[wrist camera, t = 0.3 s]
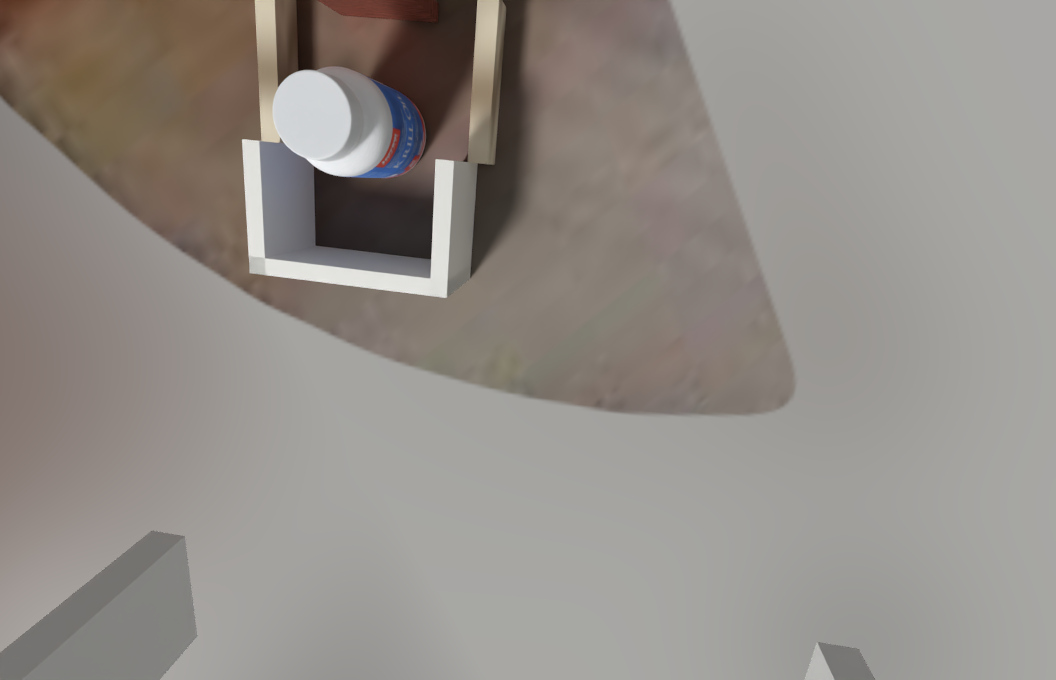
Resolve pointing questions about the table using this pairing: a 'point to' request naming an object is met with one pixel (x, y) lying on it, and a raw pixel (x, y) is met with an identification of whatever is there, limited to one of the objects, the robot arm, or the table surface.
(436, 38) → the table surface
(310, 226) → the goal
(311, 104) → the pill bottle
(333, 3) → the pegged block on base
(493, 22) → the lane rails
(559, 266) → the table surface
